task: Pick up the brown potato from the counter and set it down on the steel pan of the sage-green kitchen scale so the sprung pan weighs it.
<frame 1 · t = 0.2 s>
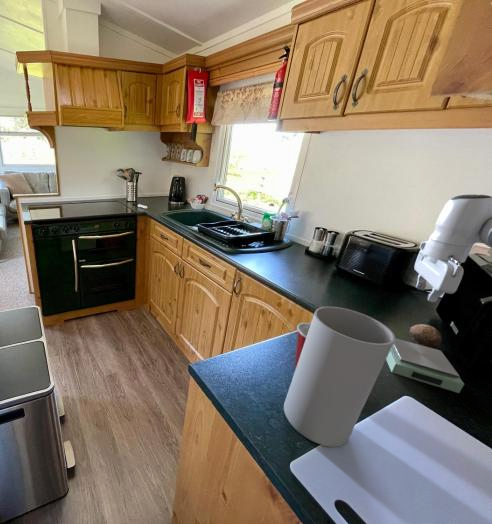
hand: (424, 294, 87), 18 cm above the countertop, tool pointing down, fingers open, 8 cm apart
cylinder vase: (313, 421, 63), on the countertop
scale pan: (421, 355, 81), point 4 cm above the countertop, slide at 0.0 cm
brown potato: (421, 343, 94), on the countertop
scale base: (415, 366, 83), on the countertop
plastic cup: (307, 370, 78), on the countertop
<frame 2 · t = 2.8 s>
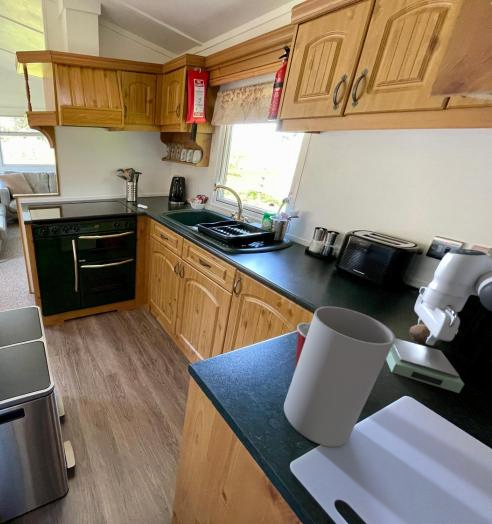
hand: (424, 337, 94), 2 cm above the countertop, tool pointing down, fingers closed on brown potato, 6 cm apart
brown potato: (421, 343, 94), on the countertop, touching gripper
everything else where it was.
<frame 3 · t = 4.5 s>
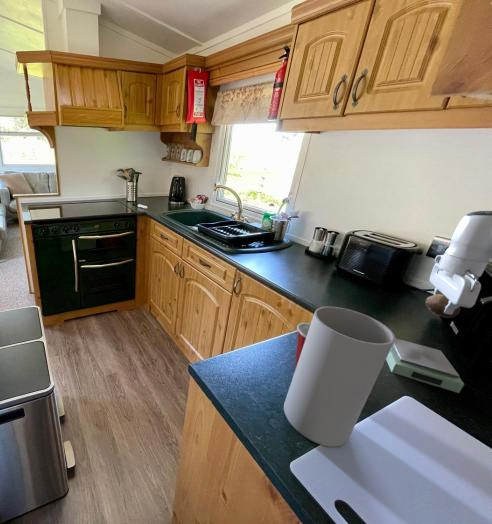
hand: (441, 307, 89), 14 cm above the countertop, tool pointing down, fingers closed on brown potato, 6 cm apart
brown potato: (438, 314, 90), point 11 cm above the countertop, touching gripper
everything else where it was.
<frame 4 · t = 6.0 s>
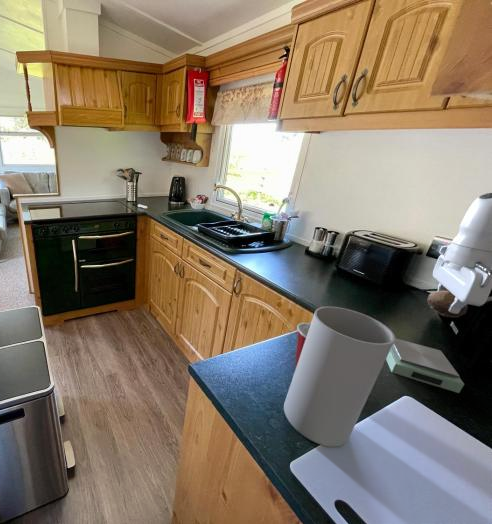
hand: (445, 305, 78), 19 cm above the countertop, tool pointing down, fingers closed on brown potato, 6 cm apart
brown potato: (441, 313, 78), point 17 cm above the countertop, touching gripper
everything else where it was.
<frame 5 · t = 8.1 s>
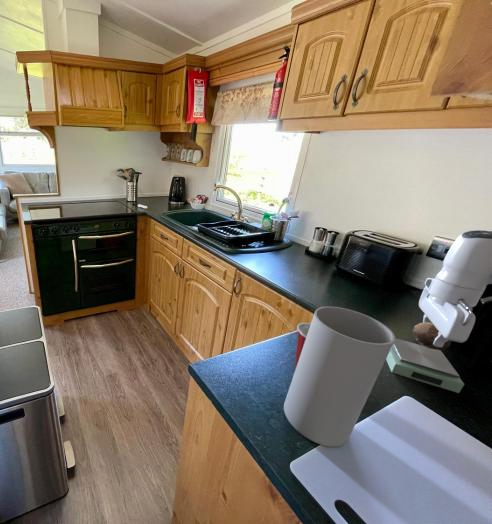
hand: (430, 337, 79), 10 cm above the countertop, tool pointing down, fingers closed on brown potato, 6 cm apart
brown potato: (426, 344, 80), point 8 cm above the countertop, touching gripper
everything else where it was.
when the fingers open (6 cm above the countertop, at t = 9.7 s): brown potato stays where it is, resting on scale pan.
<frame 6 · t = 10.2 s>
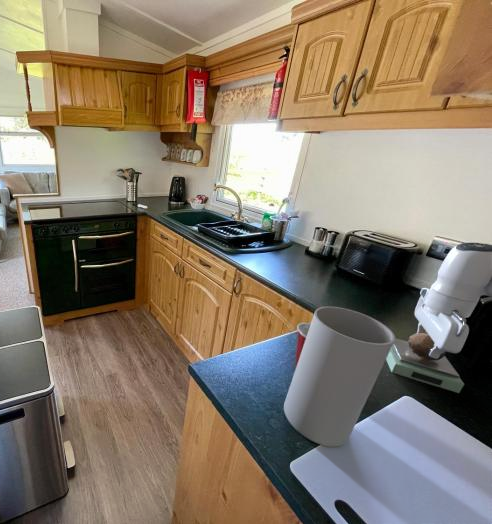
hand: (425, 346, 80), 7 cm above the countertop, tool pointing down, fingers open, 8 cm apart
scale pan: (421, 355, 81), point 4 cm above the countertop, slide at 0.0 cm, touching brown potato, scale base
brown potato: (421, 355, 81), point 4 cm above the countertop, touching scale pan
everything else where it was.
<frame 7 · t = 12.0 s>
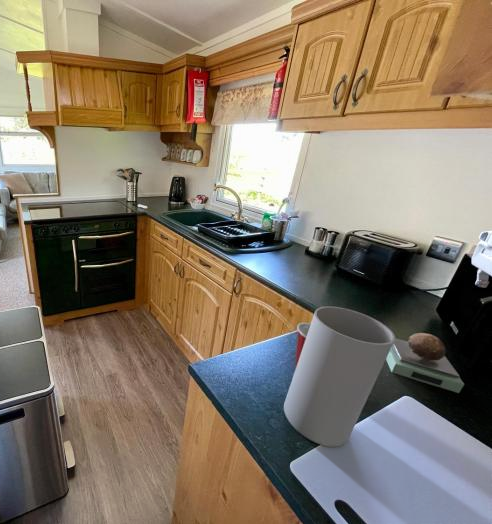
hand: (489, 293, 75), 24 cm above the countertop, tool pointing down, fingers open, 8 cm apart
scale pan: (421, 355, 81), point 4 cm above the countertop, slide at 0.0 cm, touching scale base
brown potato: (421, 355, 81), point 4 cm above the countertop
everything else where it was.
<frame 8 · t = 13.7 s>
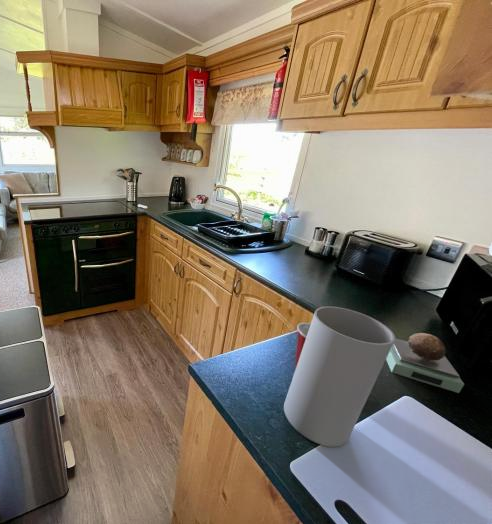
scale pan: (421, 355, 81), point 4 cm above the countertop, slide at 0.0 cm, touching brown potato, scale base
brown potato: (421, 355, 81), point 4 cm above the countertop, touching scale pan
everything else where it was.
at the end: brown potato inside the target area on the scale base (0.0 cm from its centre), point 4.1 cm above the scale base's base; the gripper is holding nothing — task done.
